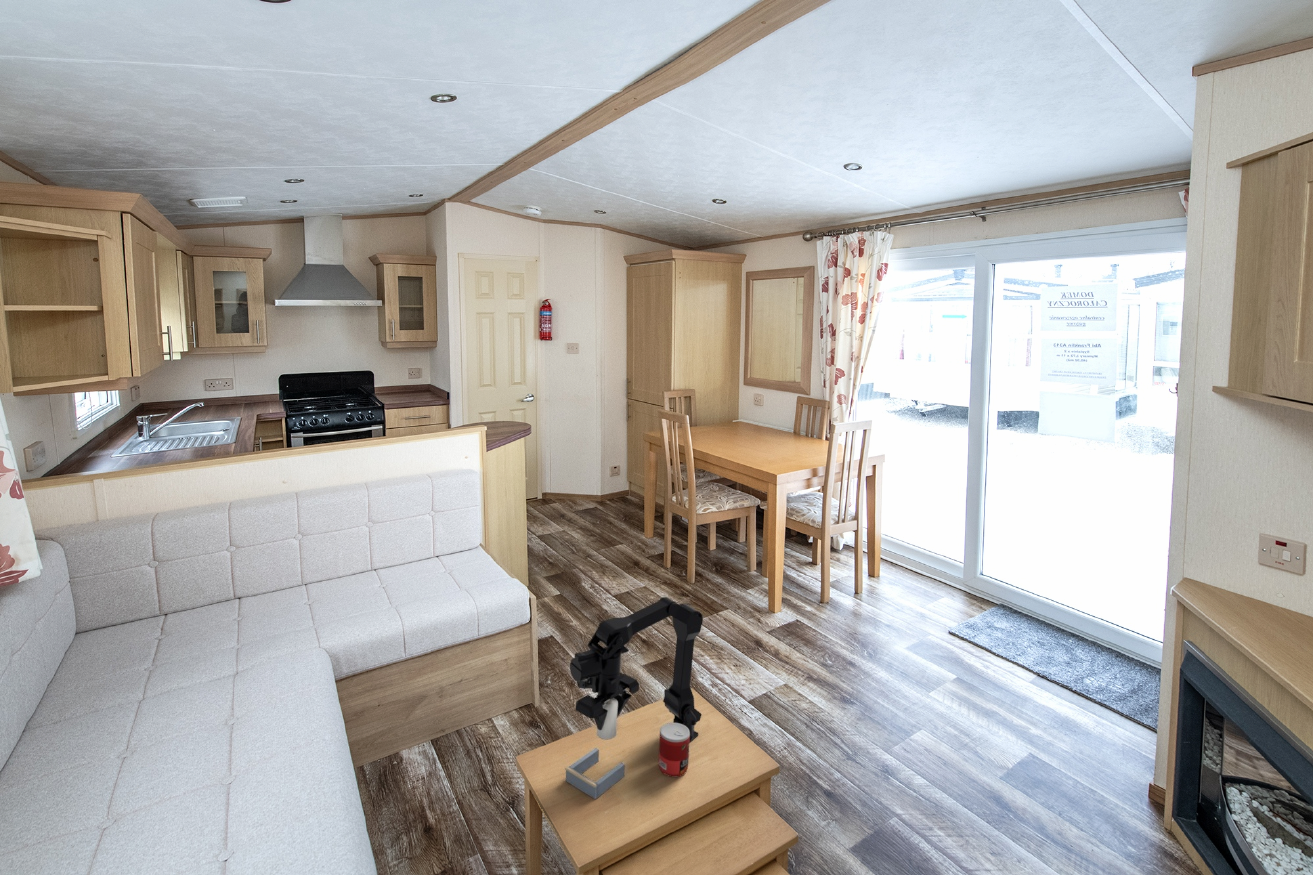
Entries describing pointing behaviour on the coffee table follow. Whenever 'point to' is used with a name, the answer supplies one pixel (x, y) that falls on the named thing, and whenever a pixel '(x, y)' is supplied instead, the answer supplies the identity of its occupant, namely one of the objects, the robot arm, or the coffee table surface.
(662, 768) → the canned food
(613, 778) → the bracket
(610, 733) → the roll
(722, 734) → the coffee table surface
